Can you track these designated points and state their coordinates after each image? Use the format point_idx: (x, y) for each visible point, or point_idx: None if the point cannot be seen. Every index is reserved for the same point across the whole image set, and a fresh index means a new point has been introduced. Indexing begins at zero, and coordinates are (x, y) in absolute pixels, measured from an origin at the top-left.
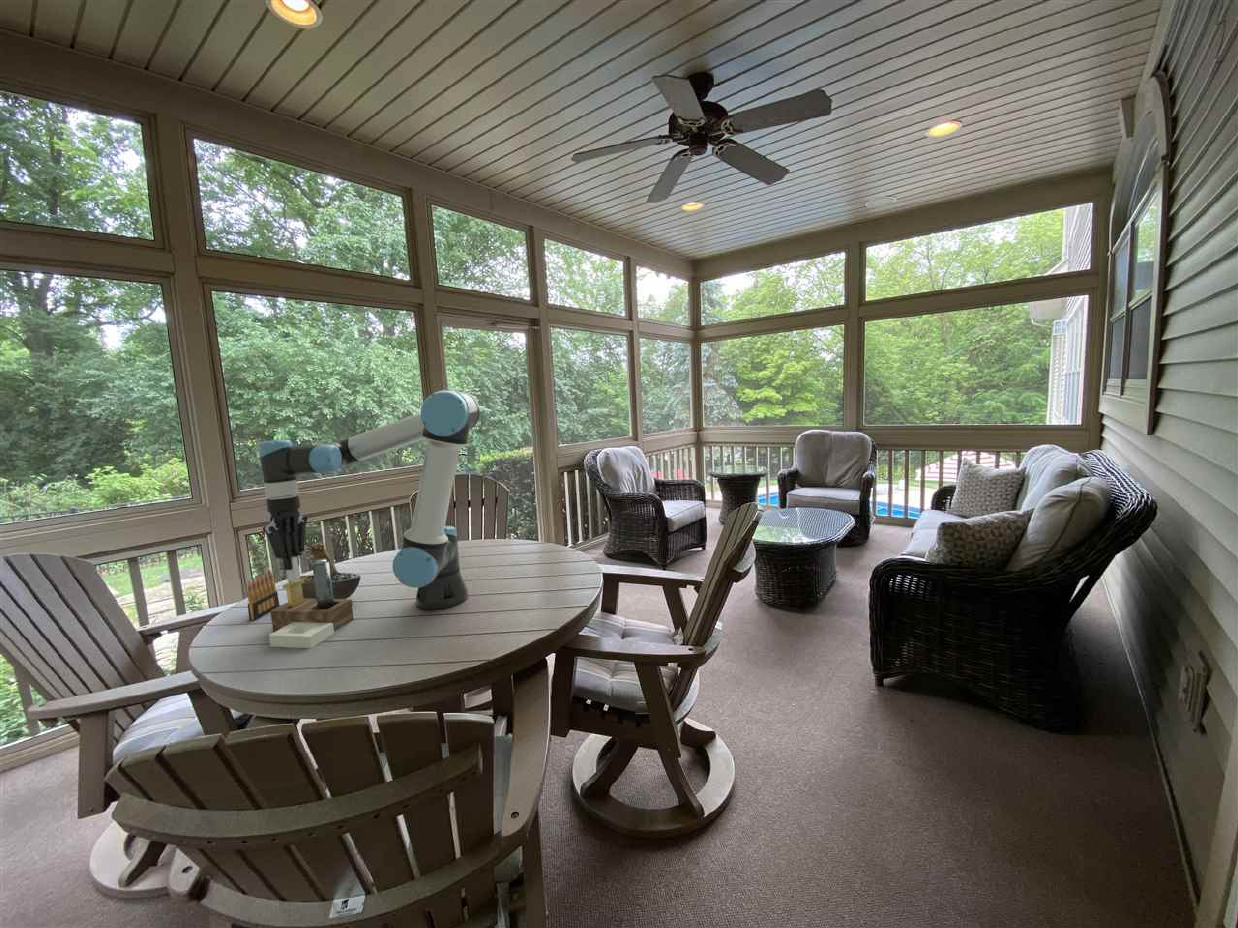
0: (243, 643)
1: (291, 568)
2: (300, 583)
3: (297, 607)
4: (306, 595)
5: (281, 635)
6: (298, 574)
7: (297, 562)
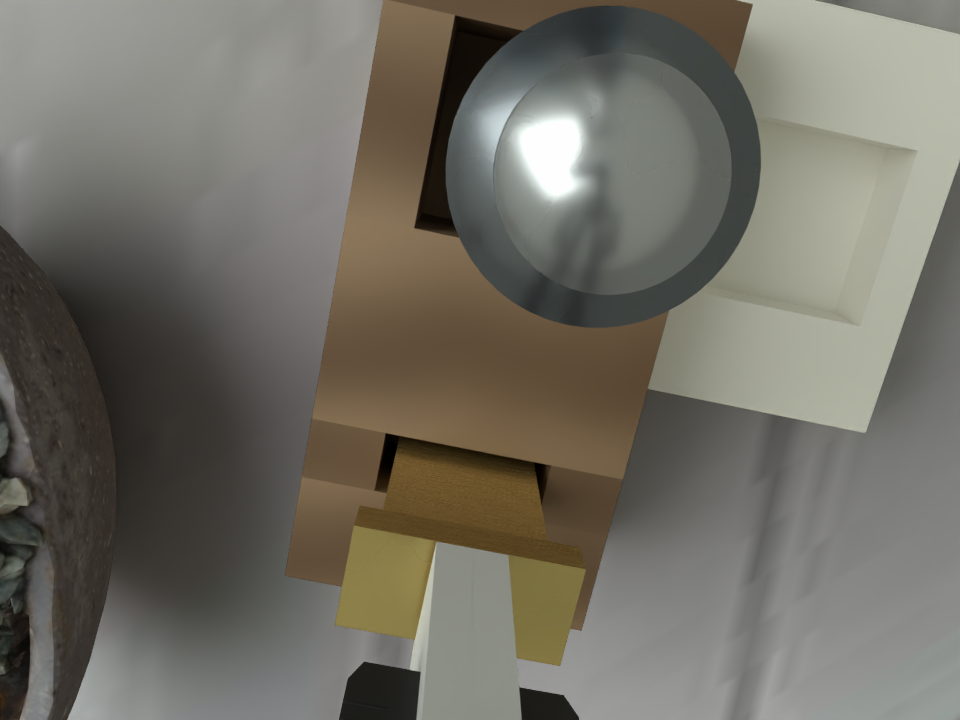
0: (729, 623)
1: (523, 696)
2: (423, 522)
3: (544, 422)
4: (107, 569)
5: (900, 323)
6: (451, 579)
7: (433, 692)
